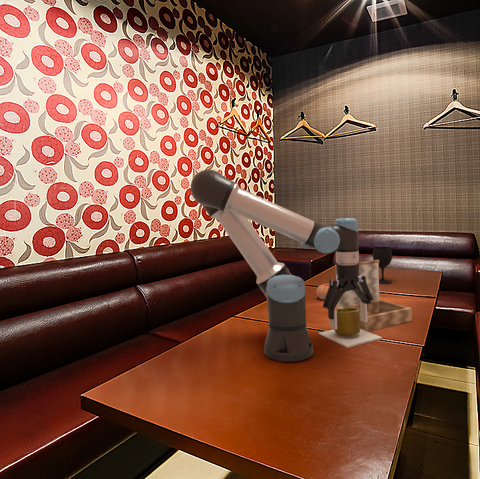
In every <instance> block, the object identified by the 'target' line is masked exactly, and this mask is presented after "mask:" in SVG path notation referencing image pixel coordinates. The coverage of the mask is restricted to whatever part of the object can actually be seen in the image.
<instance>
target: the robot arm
mask: <svg viewBox="0 0 480 479" xmlns="http://www.w3.org/2000/svg"><path fill="white" fill-rule="evenodd" d="M190 193H191V196H192V198H193V200H194V201H195V202H196V203H198V204H199V205H201V206H202V207H203V209H204V210H205V212H206V214H207V215H208V216H209V217H210V218H211V219H214V220H217V221H218V223H219V224H220V225H221V226H222V228H223V229H224V231H225V232H226V233H227V236H229V238H230V239H231V241H232V242H233V244H234V245H235V246H236V248H237V250H238V251H239V252H240V254H241V255H242V256H243V258H244V259H245V261H246V263H247V264H248V265H249V267H250V268H251V270H252V271H253V272H254V274H255V276H256V281H255V283H256V284H257V286H258V288H259V289H260V291H261V292H262V294H264V296H265V297H266V301H267V316H268V318H267V321H268V330H267V333H266V338H265V340H264V344H263V352H264V353H263V354H264V355H265V357H267V358H268V359H270V360H274V361H277V362H287V363H291V362H293V363H294V362H300V361H304V360H307V359H309V358H310V357H312V356H313V354H314V347H313V346H314V345H313V342H312V340H311V337H310V334H309V332H308V329H307V308H306V307H307V306H306V291H307V290H306V284H305V282H304V279H302V278H301V277H299V276H296V275H293V274H292V273H291V272H290V270H289V268H288V267H287V266H286V265H285V262H284V263H283V262H278V261H277V259H276V258H275V257H274V255H273V253H272V252H271V250H270V249H269V248H268V246H267V245H266V243H265V242H264V241H263V239H262V237H261V236H260V235H259V233H258V232H257V231H256V228H254V226H253V225H252V223H251V221H252V222H255V223H257V224H258V225H261V226H263V227H265V228H268V229H270V230H272V231H274V232H277V233H279V234H281V235H284V236H286V237H288V238H291V239H293V240H295V241H297V242H299V243H300V247H301V248H302V249H314V250H317V251H318V252H319V253H323V254H331V253H334V252H335V262H336V265H335V266H336V268H335V275H336V274H337V276H338V279H337V280H336V279H332V278H331V279H329V283H328V284H329V289H328V292H327V295H326V298H325V300H323V304H322V308H323V309H326V310H327V313H328V315H327V316H328V319H329V327H330V328H331V329H332V330H334V329H337V310H335V309H336V308H337V304H338V302H339V300H340V298H341V297H342V295H343V294H344V293H345V292H346V291H350V290H354V292H355V293H356V294H357V296H358V297H359V298H360V300H361V301H362V302H363V303H362V302H361V303H360V321H363V322H368V320H367V316H368V315H367V312H368V304H370V303H371V301H372V300H373V297H372V295H371V292H370V290H369V288H368V285H367V283H366V277H365V276H362V275H359V265H358V264H357V263H359V262H360V256H359V254H360V253H359V252H360V251H359V232H360V231H359V222H358V220H357V218H355V217H349V218H348V217H347V218H346V217H345V218H343V217H342V218H336V219H335V220H334V223H333V224H329V225H328V224H326V225H325V224H320V223H318V222H315V221H314V220H312V219H309V218H308V217H305V216H303V215H300V214H299V213H296V212H295V211H292V210H289V209H287V208H285V207H283V206H281V205H278V204H276V203H273V202H272V201H270V200H267V199H266V198H263V197H260V196H258V195H257V194H254V193H252V192H250V191H247V190H245V189H244V188H241V187H240V186H239V184H238V182H235V181H234V180H232V179H229V178H227V177H225V176H224V175H223V174H222V173H220V172H219V171H217V170H214V169H209V168H208V169H203V170H200V171H199V172H198V173H196V174H195V175H193V178H192V179H191V183H190ZM358 275H359V276H358ZM358 281H359V284H360V287H361V289H362V290H361V289H360V287H359V285H358V284H357V283H358ZM341 289H342V290H341ZM362 291H363V292H362Z"/></svg>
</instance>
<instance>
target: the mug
mask: <svg viewBox="0 0 480 479" xmlns="http://www.w3.org/2000/svg"><path fill="white" fill-rule="evenodd" d="M335 310H337V329H333V330H335V332H336V333H337V334H339V335H352V334H356V333H360V313H359V309H358V308H354V307H346V308H343V307H340V308H338V309H337V308H335Z"/></svg>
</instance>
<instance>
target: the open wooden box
mask: <svg viewBox="0 0 480 479" xmlns="http://www.w3.org/2000/svg"><path fill="white" fill-rule="evenodd" d="M357 264H358V265H359V275H362V276H365V277H366V283H367V285H368V288H369V290H370V292H371V295H372V297H373V300H372V301H371V303H370V304H368V312H367V320H368V322H363V321H360V329H362V330H364V331H367V332H370V331H375V330H379V329H382V328H387V327H391V326H396V325H399V324H404V323H408V322H412V321H413V315H412V314H413V308H412V307H409V306H405V305H401V304H397V303H395V302H394V303H393V302H390V301H386V300H382V299H380V284H379V280H380V278H379V277H380V275H379V273H380V272H379V271H380V270H379V269H380V267H379V260H368V261H367V260H366V261H359V262H358V263H357ZM334 269H336V265H334ZM359 275H358V276H359ZM337 279H338V276H337V274H336V273H335V280H337ZM357 284H358V285H359V287H360V284H359V281H358V283H357ZM360 289H361V287H360ZM341 290H342V289H341ZM361 290H362V289H361ZM362 292H363V291H362ZM361 302H362V301H361V300H360V298H359V297H358V296H357V294H356V293H355V292H354V290H350V291H346V292H345V293H344V294H343V295H342V297H341V298H340V300H339V302H338V304H337V305H336V309H338V308H340V307H343V308H346V307H354V308H358V309H359V313H360V303H361ZM362 303H363V302H362Z"/></svg>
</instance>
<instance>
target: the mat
mask: <svg viewBox="0 0 480 479" xmlns="http://www.w3.org/2000/svg"><path fill="white" fill-rule="evenodd" d="M317 334H318V335H320V336H322V337H324V338H326V339H327V340H330V341H331V342H335V343H337V344H339V345H341V347H345V348H347V349H348V348H352V347H355V346H356V347H357V346H361V345H363V344H368V343H372V342H376V341H379V340H383V337H382V336H379V335H378V334H374V333H372V332H370V331H365V330H362V329H360V333H356V334H352V335H339V334H337V333H336V332H335V330H334V329H330V330H325V331H321V332H318V333H317Z"/></svg>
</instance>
